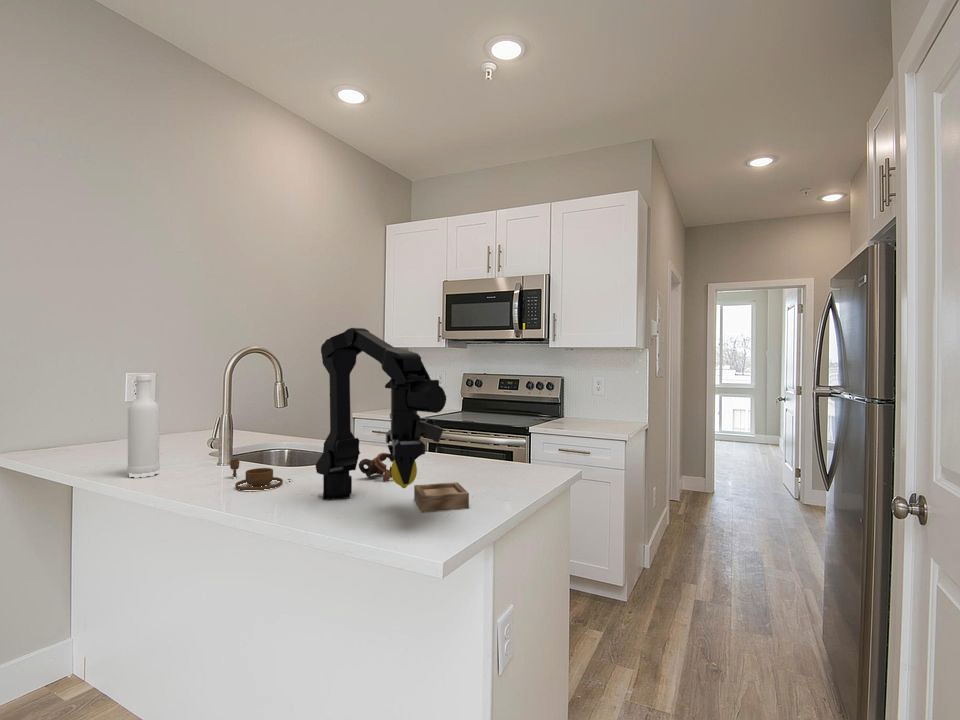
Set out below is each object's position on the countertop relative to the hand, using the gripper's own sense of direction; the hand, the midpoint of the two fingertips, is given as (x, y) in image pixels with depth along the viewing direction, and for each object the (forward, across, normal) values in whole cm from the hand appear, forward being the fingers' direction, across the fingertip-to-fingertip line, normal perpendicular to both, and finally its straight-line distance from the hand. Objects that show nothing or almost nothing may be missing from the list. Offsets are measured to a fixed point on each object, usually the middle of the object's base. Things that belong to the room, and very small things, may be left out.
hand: (404, 480), depth 110 cm
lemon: (+2, 0, 0) cm, 2 cm away
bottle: (+8, +62, +69) cm, 93 cm away
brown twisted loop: (+8, +38, +2) cm, 39 cm away
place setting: (+9, +43, +35) cm, 56 cm away
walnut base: (+8, +8, -10) cm, 15 cm away
